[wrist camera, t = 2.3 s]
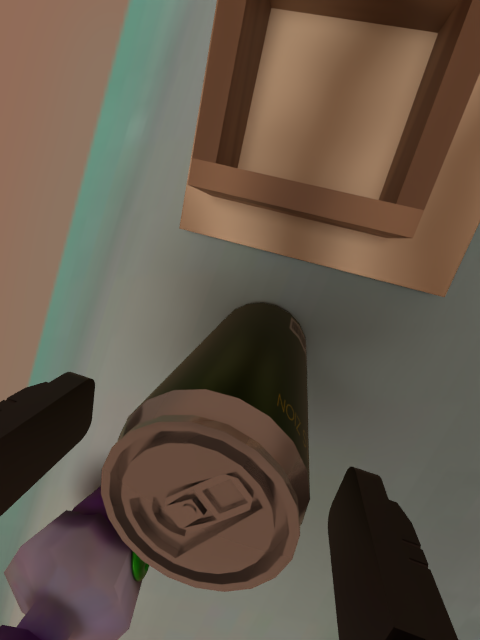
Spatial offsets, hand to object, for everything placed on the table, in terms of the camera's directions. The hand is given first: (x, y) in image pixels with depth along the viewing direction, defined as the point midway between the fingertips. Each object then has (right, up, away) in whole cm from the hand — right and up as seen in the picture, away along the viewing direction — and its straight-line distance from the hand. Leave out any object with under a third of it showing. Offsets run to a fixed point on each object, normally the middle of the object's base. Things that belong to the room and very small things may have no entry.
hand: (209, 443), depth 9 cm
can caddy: (+6, +13, +6) cm, 15 cm away
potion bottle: (-8, -11, +16) cm, 21 cm away
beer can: (+2, +2, +10) cm, 10 cm away
